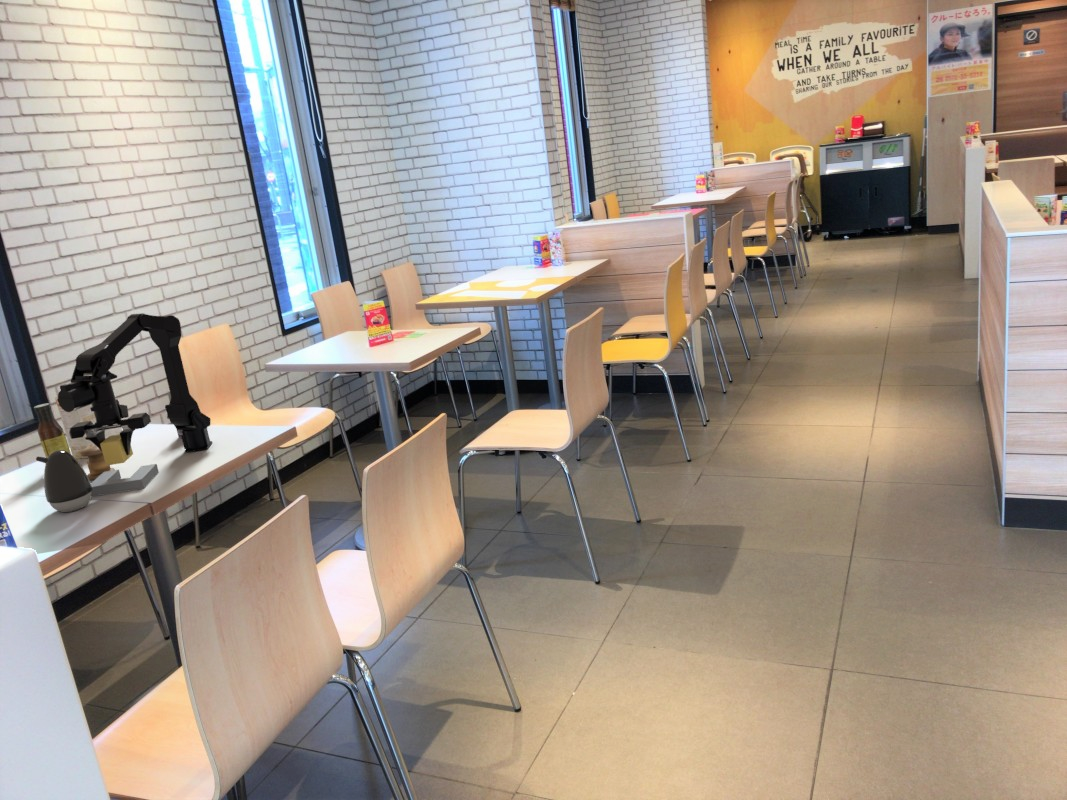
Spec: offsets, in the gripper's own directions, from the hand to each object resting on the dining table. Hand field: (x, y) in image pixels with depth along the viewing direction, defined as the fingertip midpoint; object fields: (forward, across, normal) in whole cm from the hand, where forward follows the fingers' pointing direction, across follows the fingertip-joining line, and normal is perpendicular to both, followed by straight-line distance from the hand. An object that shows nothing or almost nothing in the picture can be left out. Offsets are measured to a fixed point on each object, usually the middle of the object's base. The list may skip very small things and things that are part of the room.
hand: (118, 456), depth 222 cm
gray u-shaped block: (+8, 0, +1) cm, 8 cm away
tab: (+1, 0, 0) cm, 1 cm away
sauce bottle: (+8, +25, -21) cm, 34 cm away
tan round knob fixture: (+8, +10, -10) cm, 16 cm away
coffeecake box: (+8, +21, -38) cm, 44 cm away
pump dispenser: (+8, +8, +14) cm, 18 cm away
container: (+8, -5, -39) cm, 40 cm away
